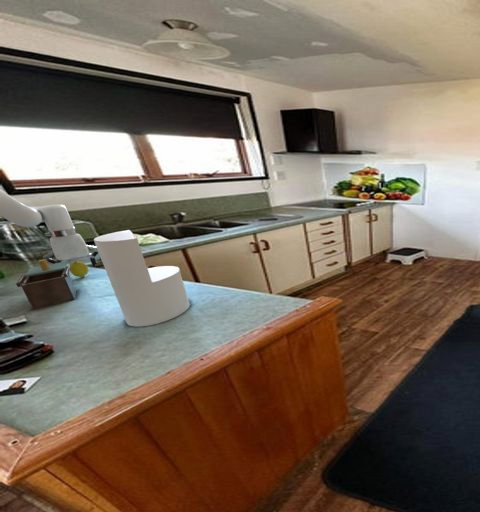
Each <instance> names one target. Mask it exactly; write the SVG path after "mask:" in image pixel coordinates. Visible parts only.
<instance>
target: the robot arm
mask: <svg viewBox="0 0 480 512" xmlns="http://www.w3.org/2000/svg"><path fill="white" fill-rule="evenodd" d="M0 217H1V218H3V219H5V220H7V221H8V222H10V223H12V224H14V225H16V226H19V227H21V228H22V227H23V228H33V227H37V226H38V225H40V224H41V223H45V225H46V228H47V230H48V231H47V232H44V235H45V237H50V238H49V244H50V247H51V250H52V251H50V252H49V253H47V254H46V255H43V257H42V260H43V259H46V261H47V263H50V264H56V263H61V262H63V261H66V260H71V259H78V258H84V257H88V258H89V260H90V263H91V265H92V267H94V268H95V267H96V265H97V264H98V263H97V260H96V257H97V255H99V252H98V249H97V247H96V246H94V245H88V244H87V242H85V240H84V238H83V237H82V235H81V234H80V233H78V232H77V230H76V227H75V225H74V223H73V221H72V218H71V216H70V214H69V212H68V209H67V207H66V206H65V205H64V204H60V203H59V204H58V203H57V204H48V205H47V204H46V205H41V206H28V205H25V204H24V203H22V202H20V200H17V199H16V198H14V197H12V196H11V195H9V194H8V193H7V192H5V191H3V190H2V188H0ZM90 250H94V252H93V253H91V252H90ZM52 256H54V257H55V259H56V260H55V259H52V258H51V257H52Z"/></svg>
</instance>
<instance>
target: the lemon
mask: <svg viewBox="0 0 480 512" xmlns="http://www.w3.org/2000/svg"><path fill="white" fill-rule="evenodd" d="M69 269H70V270H69V272H70V273H71V275H73V276H74V277H77V278H78V277H79V278H84V277H85V276H86V275H87V274H88V273H89V268H88V265H87V264H86V263H84V262H82V261H77V260H76V261H74V262H72V263H71V264H70V266H69Z"/></svg>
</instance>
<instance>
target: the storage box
mask: <svg viewBox="0 0 480 512" xmlns="http://www.w3.org/2000/svg"><path fill="white" fill-rule="evenodd" d="M69 273H70V266H69V265H68V266H67V265H66V267H65V270H61V271H56V272H51V273H45V274H40V275H35V276H30V277H26V273H24V274H21V276H20V277H19V278H18V279H17V281H16V282H15V285H16V287H17V288H21V289H22V290H23V292H24V294H25V296H26V299H27V300H28V302H29V304H30V306H31V308H32V310H33V311H35V310H39V309H43V308H47V307H51V306H55V305H59V304H62V303H68V302H71V301H75V300H76V294H77V289H76V288H75V285H74V283H73V280H72V278H71V276H70V274H69Z"/></svg>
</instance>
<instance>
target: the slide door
mask: <svg viewBox="0 0 480 512" xmlns="http://www.w3.org/2000/svg"><path fill="white" fill-rule="evenodd" d="M37 262H38V264H39V266H34V267H30V268H29V269H28V271H27V272H26V273H25V275H26V277H30V276H35V275H40V274H45V273H51V272H56V271H61V270H65V267H67V263H68V262H67V261H61V263H56V264H53V263H50V264H49V262H48V261H46V259H43V258H42V259H39V260H37Z"/></svg>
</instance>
